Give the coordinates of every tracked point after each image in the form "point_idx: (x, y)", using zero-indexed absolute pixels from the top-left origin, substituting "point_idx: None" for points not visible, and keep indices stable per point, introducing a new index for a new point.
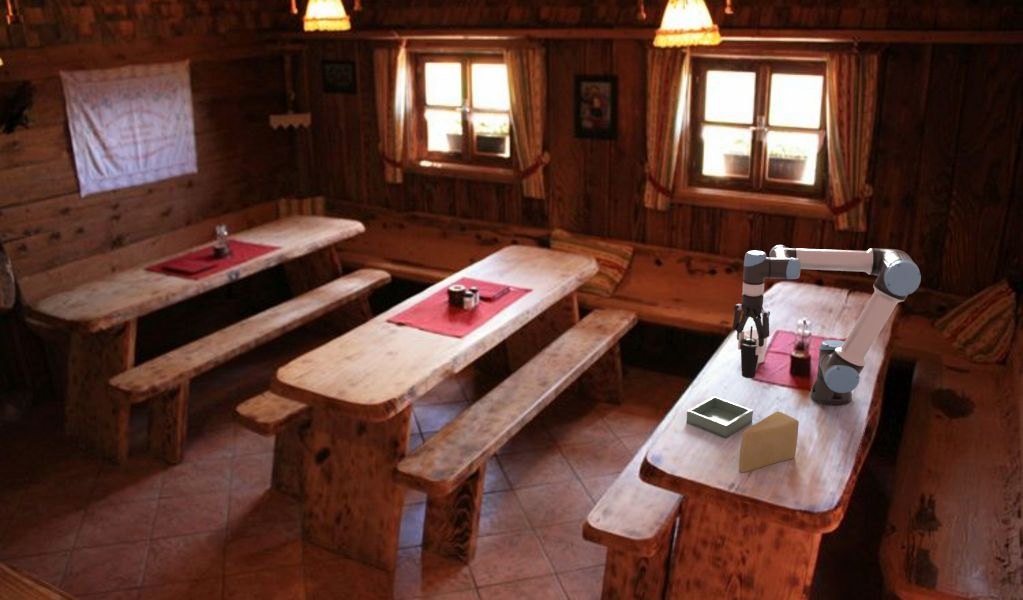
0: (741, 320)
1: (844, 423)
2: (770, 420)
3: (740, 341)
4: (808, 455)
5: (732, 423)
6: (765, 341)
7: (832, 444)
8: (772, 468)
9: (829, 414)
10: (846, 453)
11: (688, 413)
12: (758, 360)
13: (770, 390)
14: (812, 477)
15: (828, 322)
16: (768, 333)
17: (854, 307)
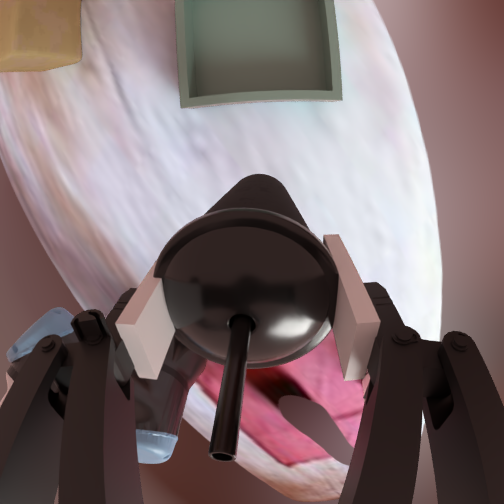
0: (402, 495)
1: (77, 269)
2: (5, 5)
3: (325, 258)
4: (32, 103)
5: (176, 4)
6: None
7: (34, 178)
8: None
9: (115, 284)
10: (10, 171)
11: None
12: (368, 378)
13: None
14: None
15: (331, 474)
16: (50, 396)
17: (323, 491)
